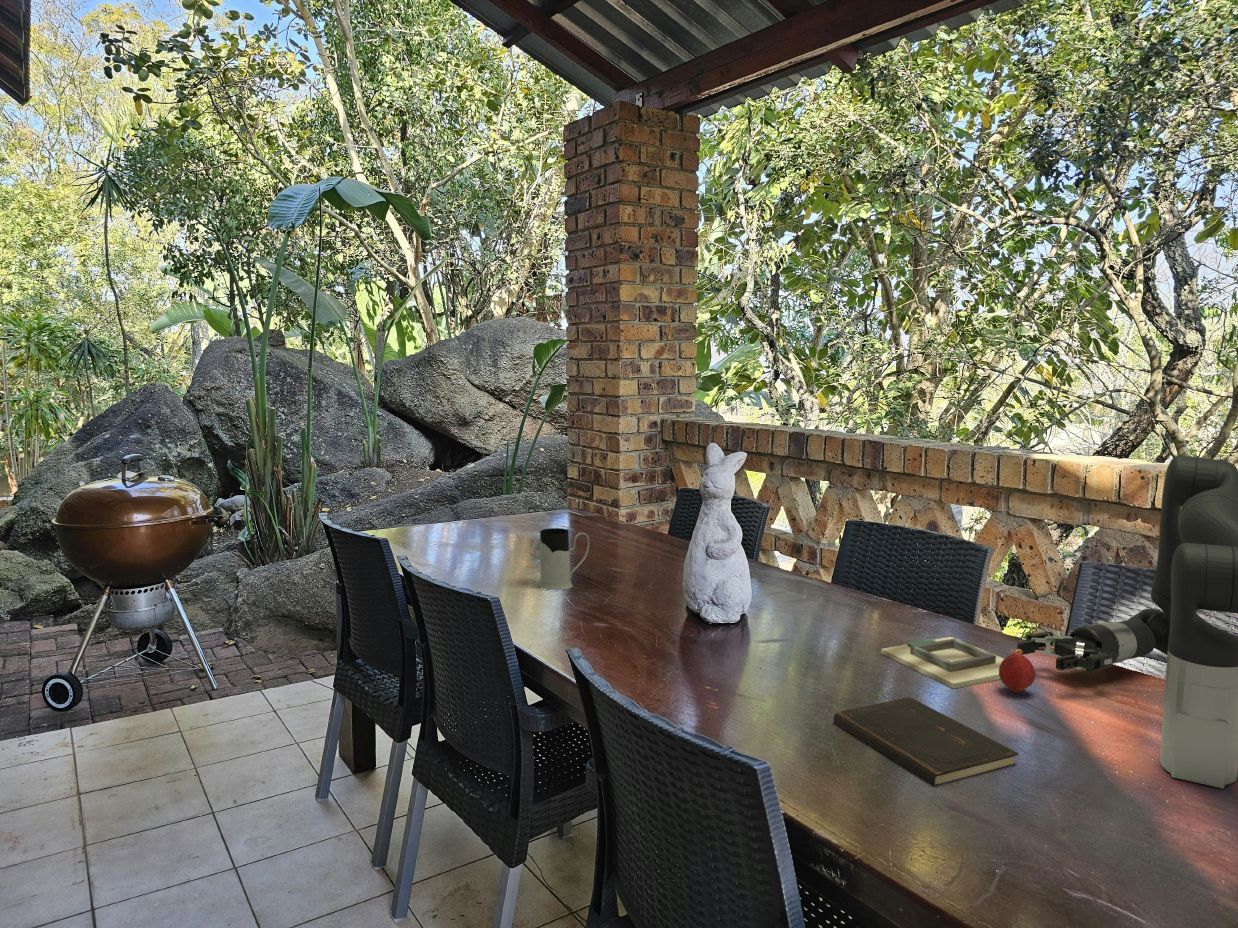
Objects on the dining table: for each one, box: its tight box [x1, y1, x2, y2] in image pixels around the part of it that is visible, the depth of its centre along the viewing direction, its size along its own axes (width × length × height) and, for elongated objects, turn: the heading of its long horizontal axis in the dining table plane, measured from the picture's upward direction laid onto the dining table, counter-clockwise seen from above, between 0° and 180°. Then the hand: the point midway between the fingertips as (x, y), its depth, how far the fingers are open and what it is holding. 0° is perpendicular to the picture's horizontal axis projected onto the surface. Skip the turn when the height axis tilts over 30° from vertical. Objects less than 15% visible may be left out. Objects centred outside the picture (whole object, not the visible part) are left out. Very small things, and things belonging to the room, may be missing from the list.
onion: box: [999, 649, 1036, 694], centre depth 153 cm, size 6×6×8 cm
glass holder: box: [539, 527, 590, 591], centre depth 227 cm, size 9×14×15 cm, turn 115°
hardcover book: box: [833, 696, 1020, 787], centre depth 134 cm, size 16×23×2 cm
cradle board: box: [880, 636, 1005, 689], centre depth 168 cm, size 20×18×2 cm
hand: (1037, 656), depth 154 cm, fingers open, 8 cm apart
